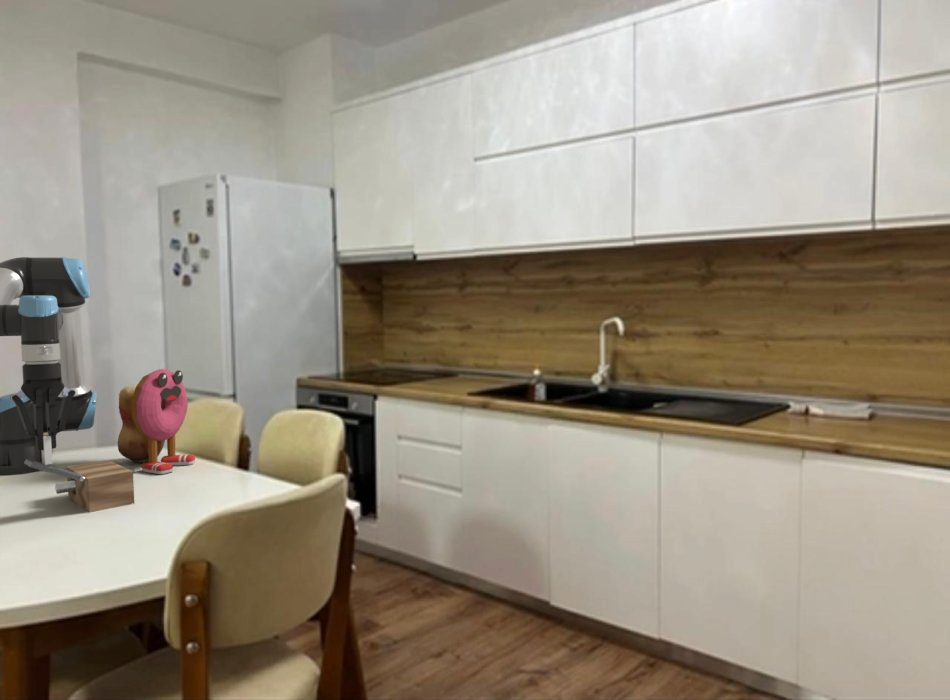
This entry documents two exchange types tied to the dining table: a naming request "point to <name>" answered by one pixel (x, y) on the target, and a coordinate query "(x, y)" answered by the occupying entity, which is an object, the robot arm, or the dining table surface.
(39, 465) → the silver flat rectangular plate
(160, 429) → the toy
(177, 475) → the dining table surface
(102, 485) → the block
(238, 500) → the dining table surface
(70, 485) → the pin
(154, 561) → the dining table surface
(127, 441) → the butternut squash
